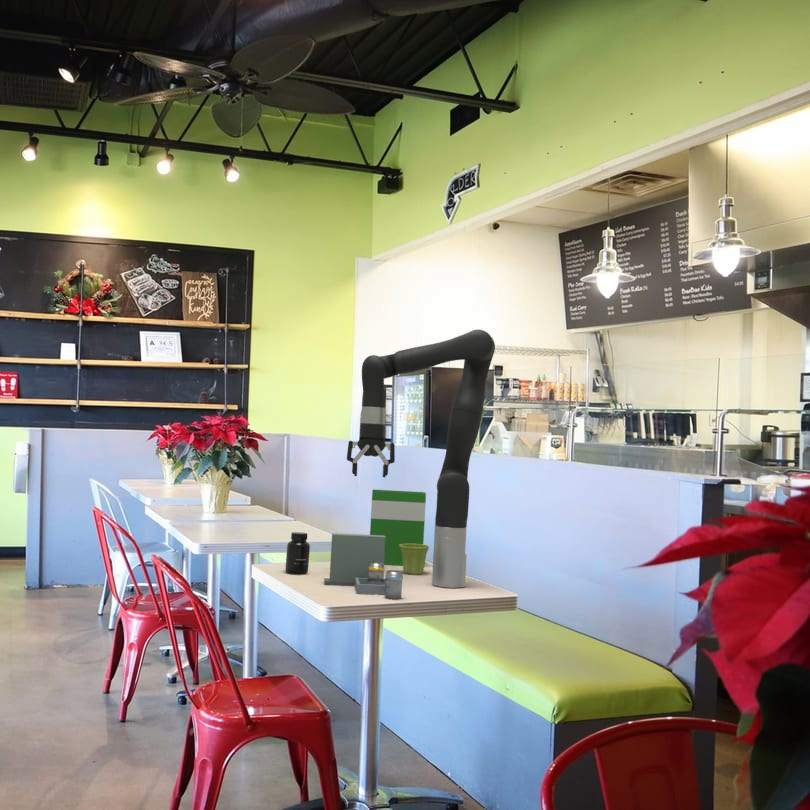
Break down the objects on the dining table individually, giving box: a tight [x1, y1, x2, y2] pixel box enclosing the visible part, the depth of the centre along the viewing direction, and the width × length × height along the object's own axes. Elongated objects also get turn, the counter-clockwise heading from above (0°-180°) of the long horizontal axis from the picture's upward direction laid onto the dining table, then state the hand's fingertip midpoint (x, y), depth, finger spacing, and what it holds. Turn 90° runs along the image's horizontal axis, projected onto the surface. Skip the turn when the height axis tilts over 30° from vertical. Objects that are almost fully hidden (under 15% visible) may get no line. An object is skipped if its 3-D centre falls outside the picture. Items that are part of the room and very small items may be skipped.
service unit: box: [323, 532, 385, 587], centre depth 261 cm, size 18×5×14 cm, turn 96°
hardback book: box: [369, 489, 427, 567], centre depth 305 cm, size 18×7×24 cm, turn 91°
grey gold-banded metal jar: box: [367, 562, 386, 585], centre depth 253 cm, size 5×5×7 cm
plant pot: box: [400, 543, 430, 575], centre depth 287 cm, size 9×9×9 cm
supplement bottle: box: [285, 531, 311, 575], centre depth 276 cm, size 7×7×12 cm
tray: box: [354, 578, 386, 596], centre depth 253 cm, size 11×11×2 cm
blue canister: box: [384, 569, 404, 601], centre depth 244 cm, size 5×5×7 cm
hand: (369, 476), depth 274 cm, fingers open, 8 cm apart
